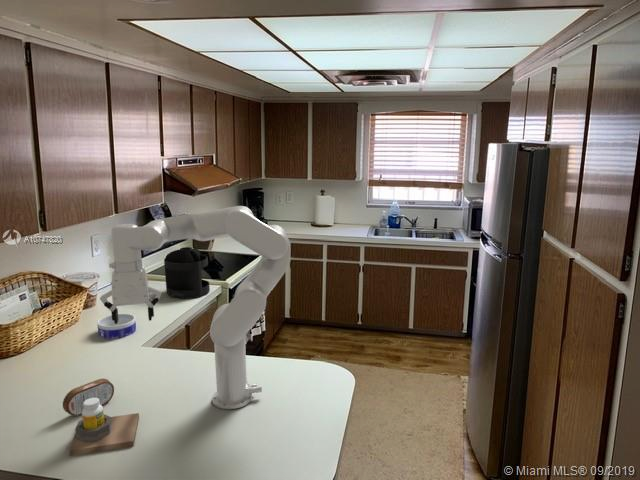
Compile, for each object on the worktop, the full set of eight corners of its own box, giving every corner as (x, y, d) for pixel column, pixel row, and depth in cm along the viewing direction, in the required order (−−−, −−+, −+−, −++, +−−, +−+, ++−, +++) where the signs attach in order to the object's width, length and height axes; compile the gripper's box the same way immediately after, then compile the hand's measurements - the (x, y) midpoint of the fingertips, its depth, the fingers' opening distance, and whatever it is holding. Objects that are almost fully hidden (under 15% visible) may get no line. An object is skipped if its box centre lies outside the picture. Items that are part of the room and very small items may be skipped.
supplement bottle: (90, 426, 136) (86, 396, 134) (108, 426, 136) (105, 395, 134) (80, 437, 131) (76, 406, 129) (100, 437, 131) (96, 406, 129)
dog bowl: (144, 329, 211) (142, 316, 209) (115, 342, 197) (113, 328, 196) (120, 323, 218) (118, 311, 216) (90, 335, 204) (89, 322, 203)
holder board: (139, 417, 143) (137, 403, 142) (133, 445, 130) (132, 431, 129) (81, 425, 139) (79, 411, 138) (69, 455, 126) (67, 440, 125)
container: (169, 288, 269) (166, 245, 264) (210, 285, 273) (208, 243, 268) (164, 300, 248) (160, 254, 243) (208, 297, 252) (206, 251, 247)
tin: (112, 397, 155) (109, 373, 153) (116, 400, 153) (114, 376, 151) (63, 418, 143) (60, 392, 142) (68, 421, 141) (65, 396, 140)
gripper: (94, 271, 135) (100, 328, 138) (158, 267, 139) (162, 322, 143) (99, 265, 142) (105, 319, 145) (160, 260, 146) (164, 313, 150)
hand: (133, 320), depth 144 cm, fingers open, 9 cm apart
